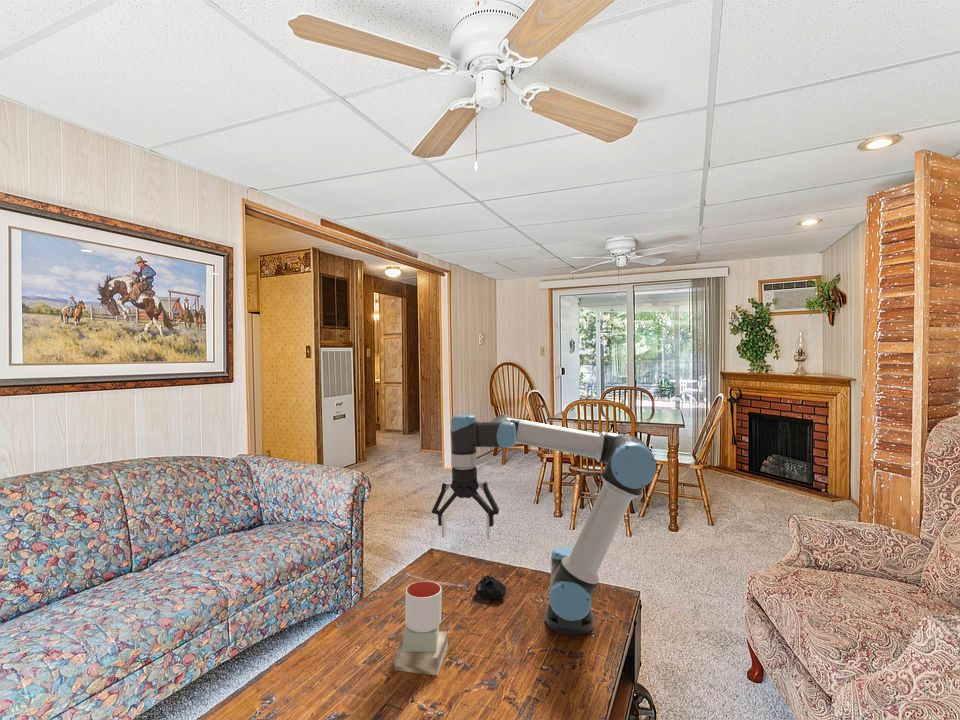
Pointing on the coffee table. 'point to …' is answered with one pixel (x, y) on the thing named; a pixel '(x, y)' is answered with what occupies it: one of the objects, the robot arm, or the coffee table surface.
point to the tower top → (420, 640)
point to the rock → (490, 588)
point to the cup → (423, 606)
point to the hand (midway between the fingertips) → (466, 536)
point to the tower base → (421, 658)
